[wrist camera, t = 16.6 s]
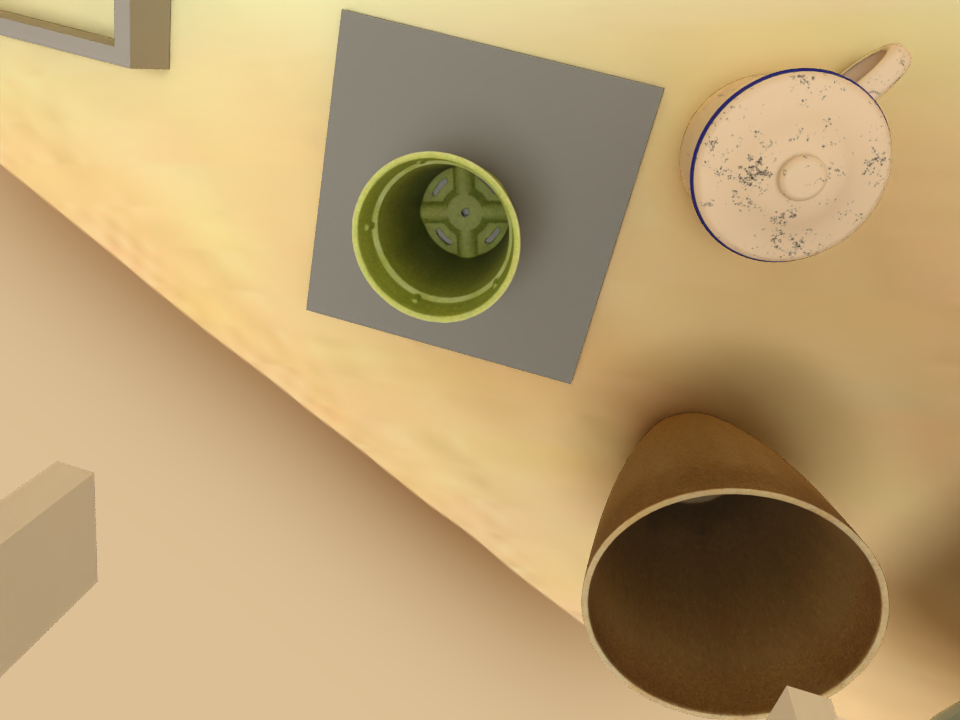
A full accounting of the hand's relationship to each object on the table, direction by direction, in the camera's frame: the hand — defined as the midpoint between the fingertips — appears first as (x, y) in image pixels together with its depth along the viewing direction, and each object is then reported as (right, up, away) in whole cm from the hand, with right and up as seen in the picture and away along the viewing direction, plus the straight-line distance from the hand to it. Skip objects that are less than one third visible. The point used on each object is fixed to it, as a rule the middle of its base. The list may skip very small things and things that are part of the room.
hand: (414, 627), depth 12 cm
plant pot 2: (+17, -2, +36) cm, 40 cm away
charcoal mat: (0, +15, +32) cm, 35 cm away
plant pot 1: (0, +15, +32) cm, 35 cm away
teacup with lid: (+19, +18, +27) cm, 38 cm away
